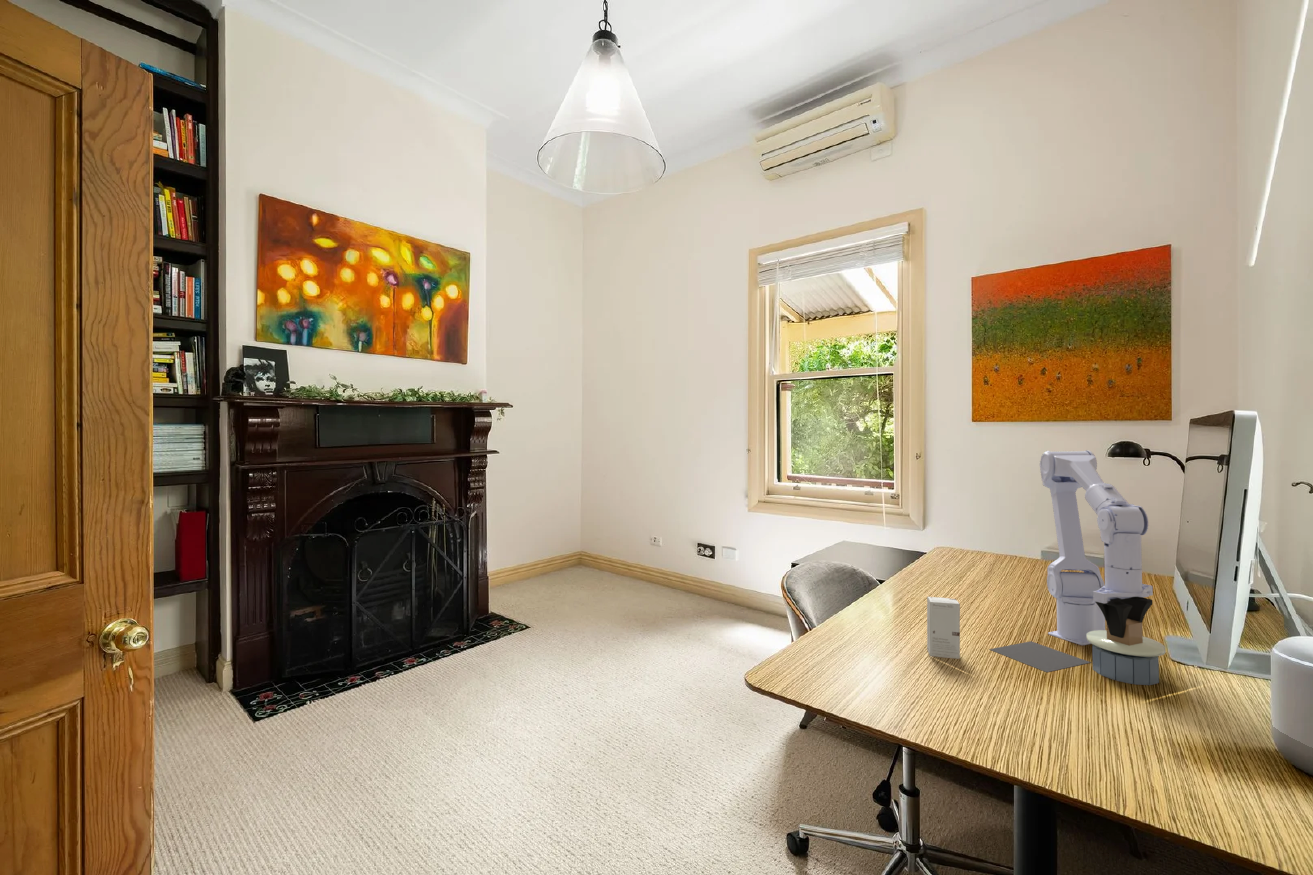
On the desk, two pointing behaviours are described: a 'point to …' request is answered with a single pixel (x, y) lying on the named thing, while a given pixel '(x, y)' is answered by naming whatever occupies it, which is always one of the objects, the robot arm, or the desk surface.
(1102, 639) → the lid
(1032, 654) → the mat
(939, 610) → the skincare box
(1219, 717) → the desk surface
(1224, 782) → the desk surface
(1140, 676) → the bowl
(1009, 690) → the desk surface
